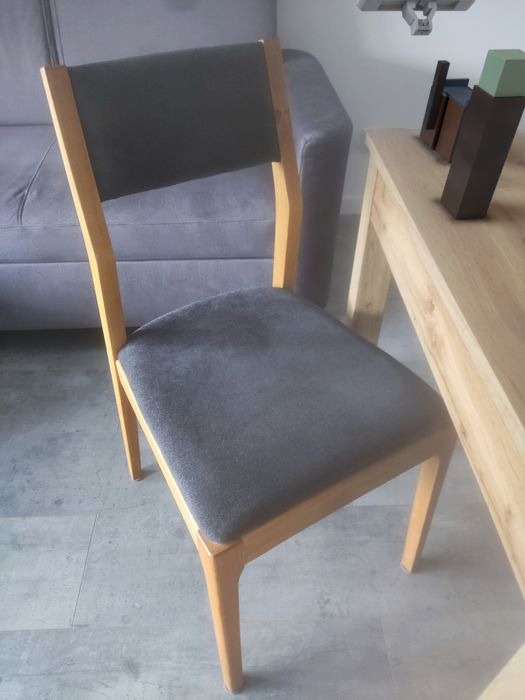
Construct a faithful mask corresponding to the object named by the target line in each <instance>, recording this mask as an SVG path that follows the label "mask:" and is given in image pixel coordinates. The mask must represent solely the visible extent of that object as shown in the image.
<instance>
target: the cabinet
mask: <svg viewBox="0 0 525 700" xmlns="http://www.w3.org/2000/svg"><path fill="white" fill-rule="evenodd" d="M469 83H470V78H468V77H464V78H463V77H462V78H460V77H459V78H457V77H456V78H446V82H445V85H444V89H443V93H444V94H445V95H447V99H446V103H445V107H444V111H443V115H442V118H441V122H440V126H439V130H438V134H437V138H436V141H435V145H434V148H433V149H434V150H435V152H436V153H437V154H438V155H440V157H442V159H443V160H445V162H447V164H451V162H452V159H453V155H454V152H455V149H456V145H457V142H458V138H459V135H460V131H461V128H462V125H463V121H464V118H465V114H466V111H467V107H468V104H469V101H470V97H471V94H472V90H473V88H471V87H470V86H469Z"/></svg>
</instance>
